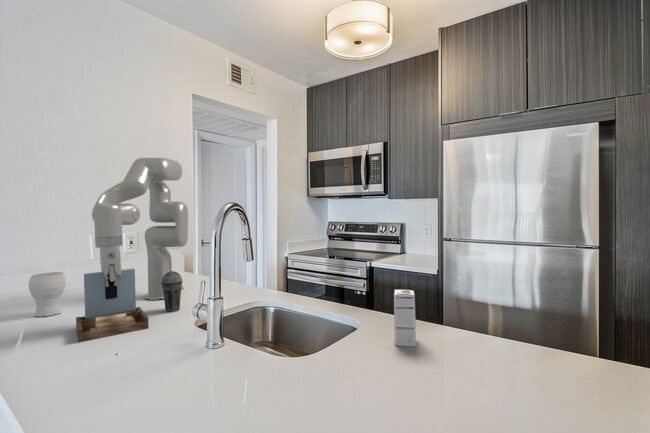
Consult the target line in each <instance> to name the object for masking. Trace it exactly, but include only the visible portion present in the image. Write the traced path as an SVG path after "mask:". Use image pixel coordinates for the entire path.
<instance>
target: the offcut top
mask: <svg viewBox="0 0 650 433" xmlns="http://www.w3.org/2000/svg"><path fill="white" fill-rule="evenodd" d="M123 321H127V315H126V313H122V314H115V315H109V316H103V317H96V326H99V325H105V324H111V323H117V322H123Z"/></svg>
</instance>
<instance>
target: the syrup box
mask: <svg viewBox="0 0 650 433" xmlns="http://www.w3.org/2000/svg"><path fill="white" fill-rule="evenodd" d="M415 296H416V295H415V290H412V289H394V292H393V308H394V309H393V312H394V313H393V314H394V315H393V316H394V345H395V346H399V347H413V348H414V347H415V348H416V346H417V337H416V336H417V334H416V333H417V332H416V322H417V321H416V299H415Z"/></svg>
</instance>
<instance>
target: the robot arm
mask: <svg viewBox="0 0 650 433" xmlns="http://www.w3.org/2000/svg"><path fill="white" fill-rule="evenodd" d="M182 176H183V168H182V165H181V163H180V162H178V160H173V159H171V158H165V157H139V158H137V159H135V160H134V161H133V163H132V164H131V166H130V168H129V170H128V171H127V173H126V175H125V177H124V179H122V180H123V181H121V182H119V183H116V184H115V185H113V186H112V187H110V188H108V189H106V190H105V191H104V192H103V193H101V194H100V196H99V197H98V199H97V200H96V202H95V204H94V206H93V208H92V211H91V218H92V220H93V221H94V223H93V224H94V247H95V248H96V249H97V248H98V249H99V258H100V262H99V263H100V269H101V270H100V272H102V273H103V277H104V278H106V287H105V295H106V299H112V298H117V285H116V274H117V275H118V276H119V277H120V276H121V275H122V273H121V270H122V263H121V262H122V261H121V259H122V258H121V250H120V247H122V246H123V227H122V226H130V225H131V226H132V225H134V224H136V223H137V222H138V221H139V220H140V217H141V212H140V209H139V207H137V206H136V205H135V204H132V203H123V202H126V201H130V200H133V199H136V198H139V197H141V196H143V195H145V194H146V192H147V190H149V205H148V207H149V213H148V214H149V219H150V221H151V222H153V223H160V224H161V223H162V224H163V223H164V224H165V223H166V224H168V223H170V224H173V223H174V225H153V226H150V227H148V228H147V229H146V230H145V232H144V241H145V242H144V243H145V245H146V246H145V247H146V253H147V285H148V286H147V288H148V290H147V291H148V293H146V294H145V295H144V296H143V297H144V299H145V300H147V299H149V300H148V301H159V299H162V300H164V293H163V288H162V284H161V283H162V279H163V277H164V275H165V274H166V273H168V272H170V265H169V260H171V270H172V271H173V269H172V266H173V264H172V255H171V252H170V251H169V250H168V249H167V248H181V247H184V246H186V245H187V243H188V240H189V239H188V237H189V211H188V210H189V209H188V206H187V204H186V203H185V202H183V201H171V200H172V198H171V195H172V194H171V189H170V187H169V185H167V183H166V181H167V182H168V181H169V182H170V181H171V182H172V181H174V182H175V181H178V180H180V179H181V178H182ZM107 274H108V275H107ZM107 276H110V277H107ZM108 279H109V280H108ZM183 290H184V285H182V287H181V291H183Z"/></svg>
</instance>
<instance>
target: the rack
mask: <svg viewBox="0 0 650 433" xmlns="http://www.w3.org/2000/svg"><path fill="white" fill-rule="evenodd" d="M122 313H126V315H127V317H128V316H132V317H133V318H134V319H135V322H136V323H134V324H129V325H124V326H119V327H113V328H108V329H103V330H98V331H93V332H90V331H89V328H95V323H96V317H94V318H88V319H86V318H85V315H84V316H77V317H75V322H76V325H75V326H76V328H75V329H76V335H77V343H83V342H88V341H89V342H90V341H92V340H98V339H102V338H108V337H112V336H118V335H123V334H127V333H132V332H137V331H143V330H146V329H147V330H148V329H149V328H150V327H149V316H148V315H147V314H146V312H144V310H143V309H142V308H141V307H140V306H136V310H133V311H128V312H122ZM122 313H116V314H122ZM111 315H115V314H111ZM105 316H109V315H105ZM99 317H103V316H99Z"/></svg>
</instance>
